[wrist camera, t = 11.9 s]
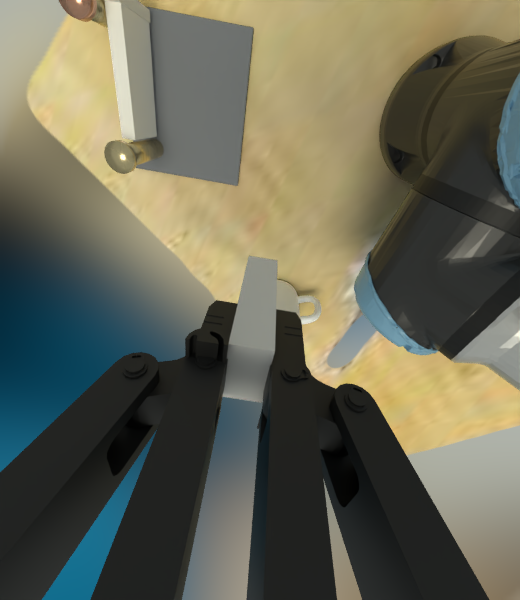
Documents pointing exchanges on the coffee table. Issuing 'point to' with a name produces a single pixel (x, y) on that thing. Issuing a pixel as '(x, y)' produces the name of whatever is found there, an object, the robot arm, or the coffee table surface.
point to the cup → (295, 301)
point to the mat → (199, 95)
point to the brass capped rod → (86, 10)
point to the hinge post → (131, 154)
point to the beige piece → (132, 67)
